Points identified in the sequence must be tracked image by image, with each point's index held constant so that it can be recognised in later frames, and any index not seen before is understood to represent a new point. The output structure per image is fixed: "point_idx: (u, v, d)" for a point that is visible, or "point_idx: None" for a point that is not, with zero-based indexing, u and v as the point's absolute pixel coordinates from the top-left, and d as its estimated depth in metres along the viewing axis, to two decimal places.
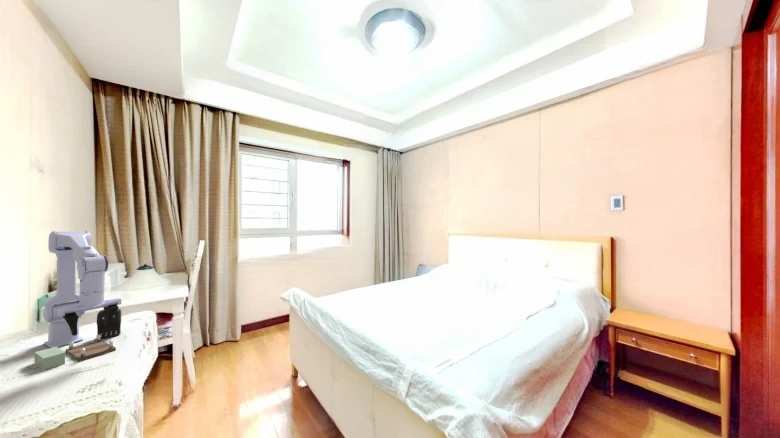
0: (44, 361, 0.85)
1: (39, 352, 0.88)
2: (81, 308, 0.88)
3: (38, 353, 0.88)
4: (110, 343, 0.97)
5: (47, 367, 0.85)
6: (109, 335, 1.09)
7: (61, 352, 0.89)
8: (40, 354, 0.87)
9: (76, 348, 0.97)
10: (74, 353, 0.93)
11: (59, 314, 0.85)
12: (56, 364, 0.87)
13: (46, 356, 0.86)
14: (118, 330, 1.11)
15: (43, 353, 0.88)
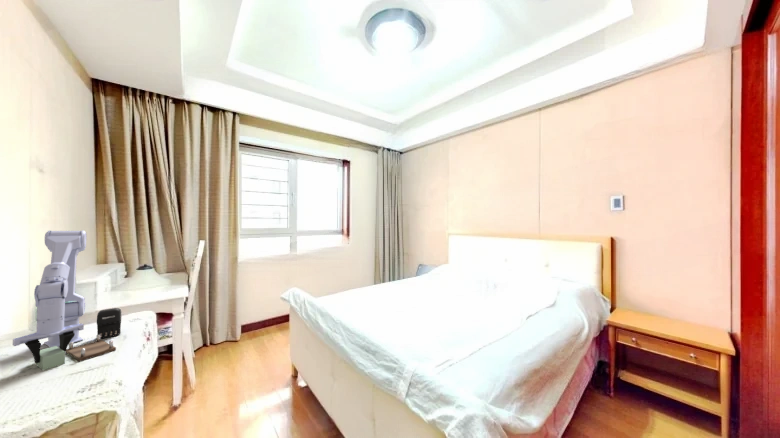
0: (44, 360, 0.85)
1: None
2: (38, 336, 0.85)
3: None
4: (110, 343, 0.97)
5: (47, 366, 0.85)
6: (109, 335, 1.09)
7: (61, 351, 0.89)
8: (40, 353, 0.87)
9: (76, 348, 0.97)
10: (74, 353, 0.93)
11: (13, 344, 0.82)
12: (56, 363, 0.87)
13: (46, 355, 0.86)
14: (118, 330, 1.11)
15: (43, 352, 0.88)
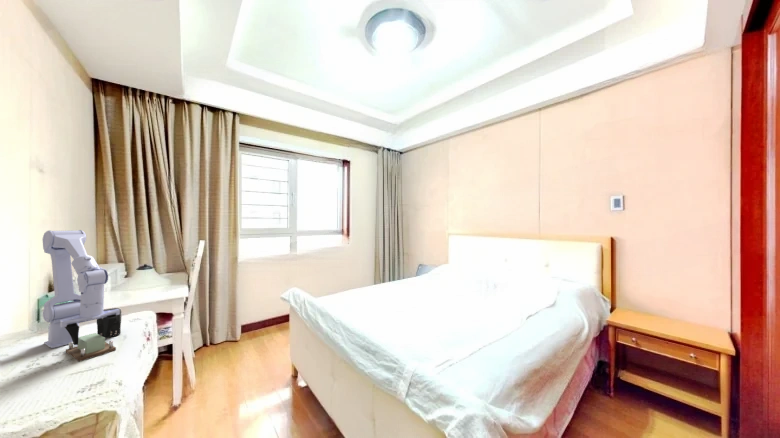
0: (87, 345, 0.93)
1: (82, 337, 0.97)
2: (82, 319, 0.94)
3: (81, 338, 0.96)
4: (110, 343, 0.97)
5: (90, 350, 0.94)
6: (109, 335, 1.09)
7: (101, 337, 0.97)
8: (83, 339, 0.96)
9: (76, 348, 0.97)
10: (74, 353, 0.93)
11: (61, 325, 0.91)
12: (97, 348, 0.95)
13: (89, 340, 0.94)
14: (118, 330, 1.11)
15: (85, 338, 0.96)
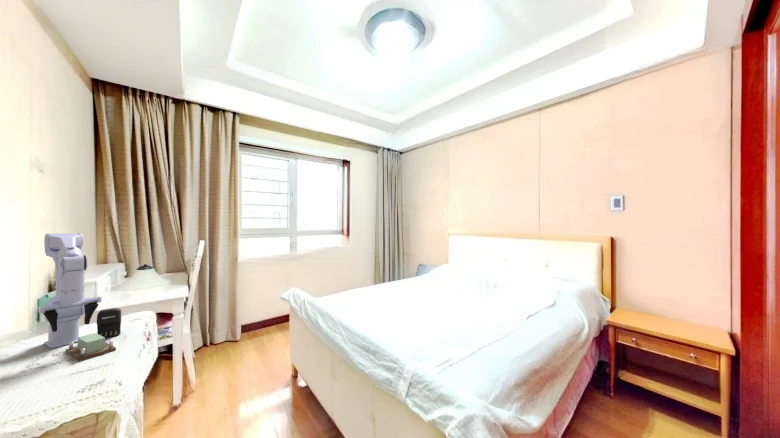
0: (87, 345, 0.93)
1: (82, 337, 0.97)
2: (61, 305, 0.92)
3: (81, 338, 0.96)
4: (110, 343, 0.97)
5: (90, 350, 0.94)
6: (109, 335, 1.09)
7: (101, 337, 0.97)
8: (83, 339, 0.96)
9: (76, 348, 0.97)
10: (74, 353, 0.93)
11: (39, 311, 0.89)
12: (97, 348, 0.95)
13: (89, 340, 0.94)
14: (118, 330, 1.11)
15: (85, 338, 0.96)
